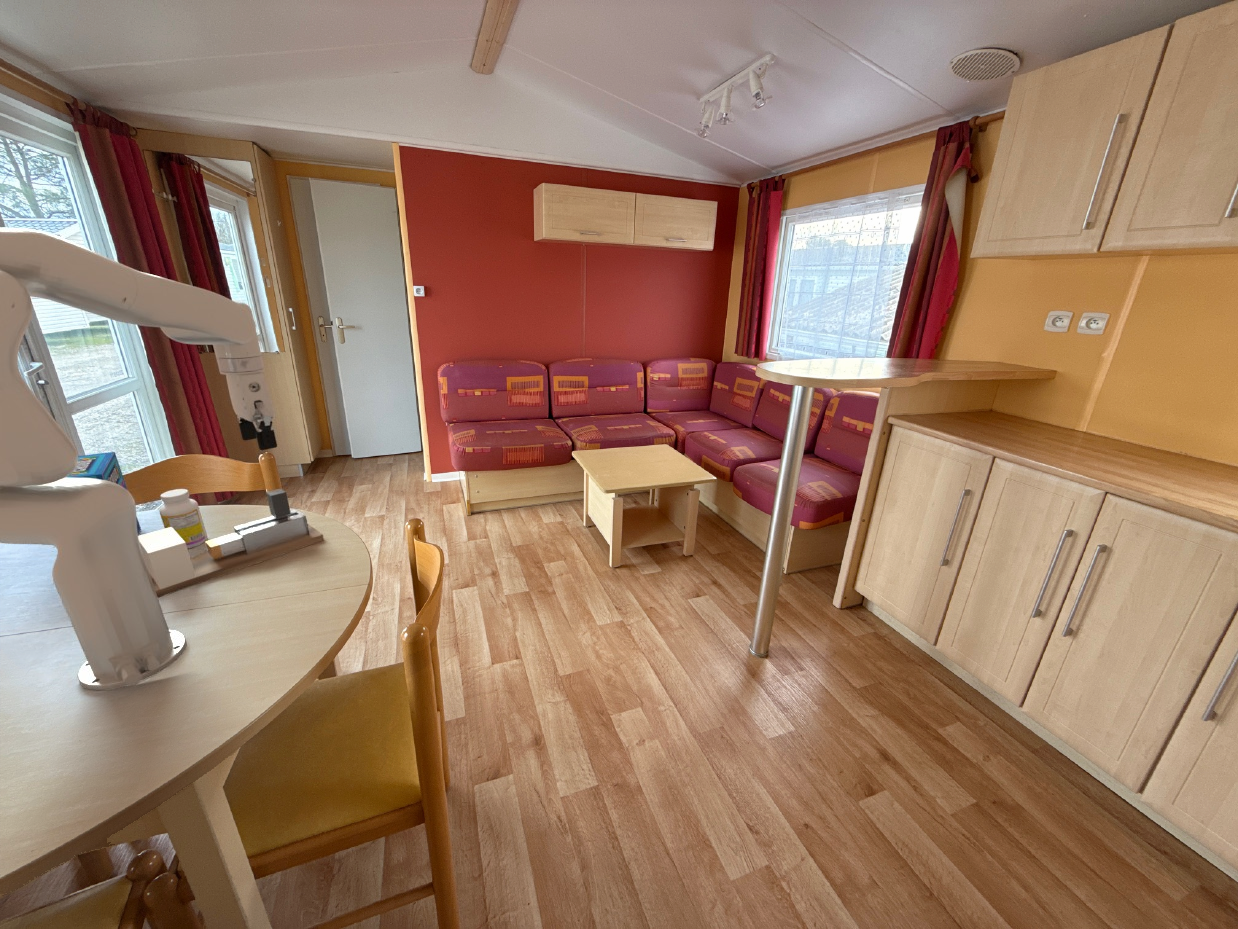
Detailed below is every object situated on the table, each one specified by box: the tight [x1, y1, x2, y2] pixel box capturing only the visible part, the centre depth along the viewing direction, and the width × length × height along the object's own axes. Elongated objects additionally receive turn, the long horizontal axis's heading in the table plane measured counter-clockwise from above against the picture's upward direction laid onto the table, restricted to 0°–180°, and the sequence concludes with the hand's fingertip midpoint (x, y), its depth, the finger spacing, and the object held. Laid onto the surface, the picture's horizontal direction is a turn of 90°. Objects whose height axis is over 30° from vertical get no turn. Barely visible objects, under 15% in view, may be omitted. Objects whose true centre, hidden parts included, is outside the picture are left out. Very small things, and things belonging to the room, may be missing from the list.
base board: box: [149, 523, 325, 598], centre depth 108 cm, size 10×30×2 cm, turn 142°
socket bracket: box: [138, 527, 196, 589], centre depth 98 cm, size 10×6×8 cm, turn 52°
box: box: [67, 451, 142, 536], centre depth 107 cm, size 17×9×20 cm, turn 37°
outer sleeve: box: [233, 508, 310, 555], centre depth 112 cm, size 6×12×5 cm, turn 142°
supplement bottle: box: [158, 488, 208, 550], centre depth 112 cm, size 7×7×13 cm
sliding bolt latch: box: [204, 488, 291, 560], centre depth 109 cm, size 4×17×10 cm, turn 142°
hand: (259, 443), depth 107 cm, fingers open, 9 cm apart
